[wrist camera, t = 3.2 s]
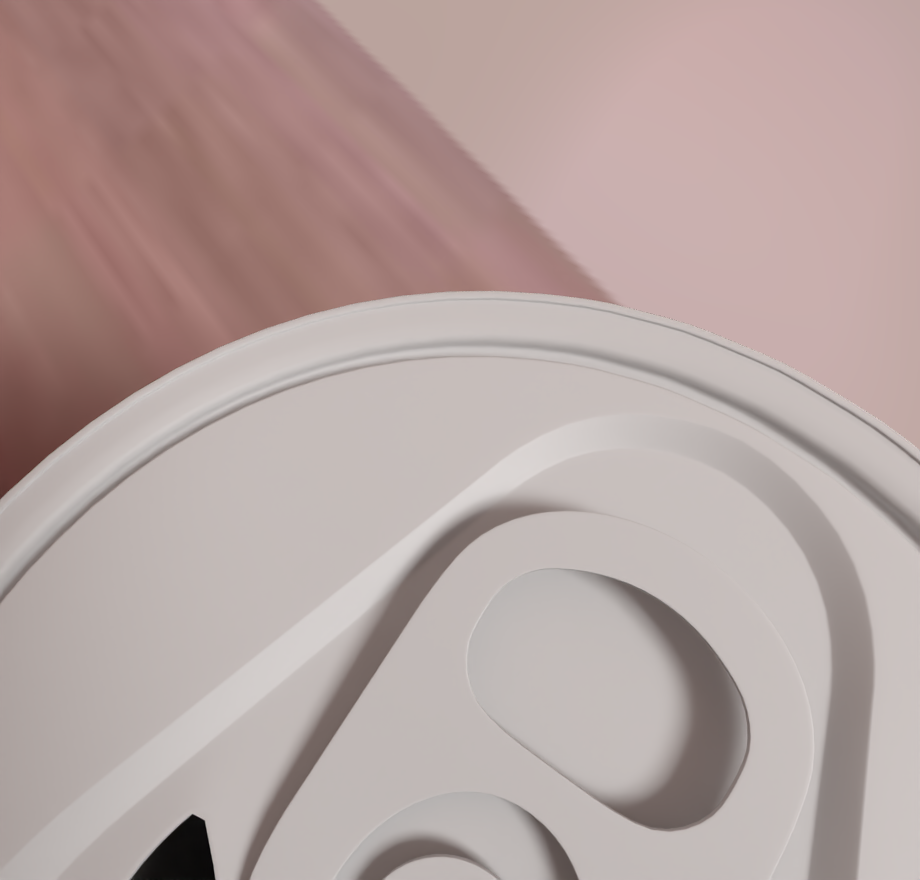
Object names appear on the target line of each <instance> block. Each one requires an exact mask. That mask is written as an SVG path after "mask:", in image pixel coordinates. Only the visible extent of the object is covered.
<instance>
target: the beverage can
mask: <svg viewBox="0 0 920 880" xmlns="http://www.w3.org/2000/svg"><path fill="white" fill-rule="evenodd" d="M0 880H920V450H919V449H918V448H916V447H915V446H914V445H913V444H911V443H910V442H909V441H908V440H906V439H905V438H904V437H902V436H901V435H900V434H898V433H897V432H896V431H894V430H893V429H892V428H890V427H889V426H888V425H886V424H885V423H883V422H882V421H881V420H879V419H877V418H876V417H874V416H873V415H871V414H870V413H868V412H866V411H865V410H863V409H862V408H860V407H859V406H857V405H855V404H854V403H852V402H850V401H849V400H847V399H845V398H844V397H842V396H840V395H839V394H837V393H835V392H833V391H832V390H830V389H829V388H827V387H825V386H823V385H822V384H820V383H818V382H817V381H815V380H813V379H812V378H810V377H808V376H807V375H805V374H803V373H801V372H799V371H797V370H796V369H794V368H792V367H790V366H788V365H786V364H784V363H782V362H780V361H778V360H776V359H773V358H771V357H769V356H767V355H764V354H762V353H760V352H758V351H755V350H753V349H750V348H748V347H745V346H743V345H741V344H738V343H736V342H733V341H731V340H729V339H726V338H723V337H721V336H719V335H717V334H714V333H712V332H709V331H706V330H703V329H701V328H698V327H695V326H693V325H690V324H687V323H684V322H680V321H677V320H673V319H670V318H666V317H662V316H659V315H655V314H651V313H647V312H643V311H639V310H635V309H631V308H627V307H623V306H619V305H615V304H611V303H606V302H600V301H595V300H589V299H584V298H575V297H566V296H558V295H549V294H538V293H522V292H506V291H454V292H438V293H427V294H416V295H405V296H397V297H391V298H385V299H379V300H373V301H367V302H361V303H355V304H351V305H347V306H343V307H339V308H334V309H330V310H326V311H322V312H318V313H314V314H310V315H307V316H303V317H300V318H297V319H294V320H291V321H288V322H285V323H282V324H279V325H275V326H272V327H269V328H266V329H263V330H261V331H258V332H256V333H253V334H251V335H249V336H246V337H244V338H241V339H239V340H236V341H234V342H231V343H229V344H226V345H224V346H221V347H219V348H217V349H215V350H213V351H211V352H209V353H207V354H205V355H203V356H201V357H199V358H197V359H194V360H192V361H190V362H188V363H186V364H184V365H182V366H180V367H178V368H176V369H174V370H173V371H171V372H169V373H167V374H166V375H164V376H162V377H161V378H159V379H157V380H155V381H154V382H152V383H150V384H149V385H147V386H145V387H143V388H142V389H140V390H138V391H137V392H135V393H133V394H132V395H130V396H129V397H127V398H126V399H124V400H123V401H121V402H120V403H118V404H117V405H115V406H114V407H112V408H111V409H109V410H108V411H107V412H105V413H104V414H102V415H101V416H99V417H98V418H96V419H95V420H93V421H92V422H90V423H89V424H88V425H86V426H85V427H84V428H83V429H81V430H80V431H79V432H78V433H76V434H75V435H74V436H72V437H71V438H70V439H69V440H67V441H66V442H65V443H64V444H62V445H61V446H60V447H58V448H57V449H56V450H55V451H53V452H52V453H51V454H49V455H48V456H47V457H46V458H45V459H44V460H43V461H42V462H40V463H39V464H38V465H37V466H36V467H35V468H34V469H33V470H32V471H30V472H29V473H28V474H27V475H26V476H25V477H24V478H23V479H22V480H20V481H19V482H18V483H17V484H16V485H15V486H14V487H13V488H12V489H10V490H9V491H8V492H7V493H6V494H5V495H4V496H3V497H2V498H1V499H0Z"/></svg>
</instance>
